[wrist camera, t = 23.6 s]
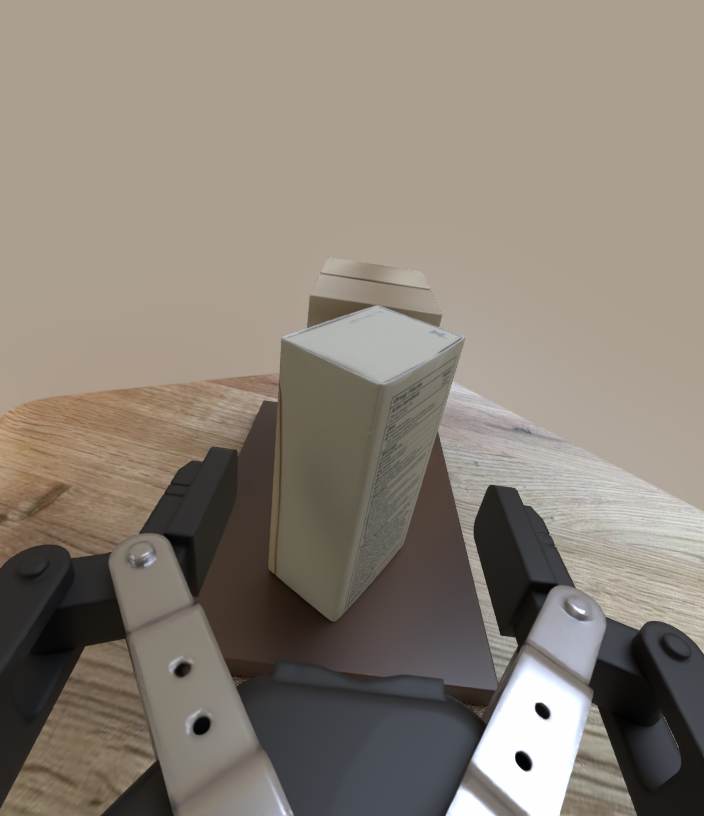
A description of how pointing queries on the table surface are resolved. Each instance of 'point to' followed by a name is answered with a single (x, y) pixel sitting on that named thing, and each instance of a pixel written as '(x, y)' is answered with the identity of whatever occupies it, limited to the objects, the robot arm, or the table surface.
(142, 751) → the table surface
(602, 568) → the table surface
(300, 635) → the rack
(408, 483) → the cosmetic box
